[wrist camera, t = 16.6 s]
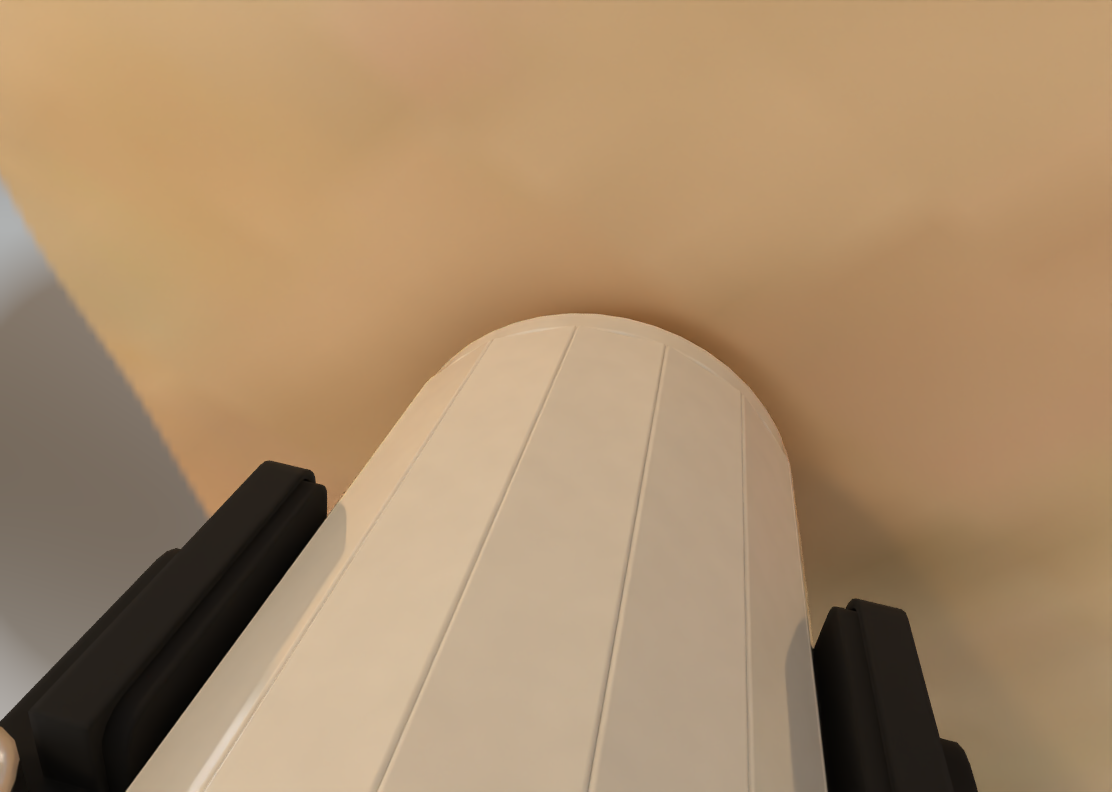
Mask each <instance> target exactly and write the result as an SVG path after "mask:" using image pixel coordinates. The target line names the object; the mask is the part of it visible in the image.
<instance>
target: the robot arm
mask: <svg viewBox="0 0 1112 792" xmlns="http://www.w3.org/2000/svg"><path fill="white" fill-rule="evenodd" d="M326 518H327V490H326V488H325V486H323V485H320V484H316V481H315V476H314V473H313V472H312V471H311V470H308V469H303V468H299V467H295V466H291V465H286V464H282V463H278V462H274V461H265V462H264V463H262V464H261V465H260V466H259V467H258V468H257V469H256V470H255V471H254V472H253V473H252V474H251V475H250V476H249V478H248V479H247V480H246V481H245V482H244V483H243V484H242V485H241V486H240V487H239V488H238V489H237V490H236V491H235V492H234V493H233V495H232V496H231V497H230V498H229V499H228V500H227V501H226V502H225V503H224V504H223V505H222V506H221V507H220V508H219V509H218V510H217V511H216V513H215V514H214V515H213V516H212V517H211V518H210V519H209V520H208V521H207V522H206V523H205V524H204V525H203V526H202V527H201V528H200V529H199V531H198V532H197V533H196V534H195V535H194V536H193V537H192V538H191V539H190V540H189V541H188V542H187V543H186V545H184V547H183V548H182V549H177V548H175V549H172V550H170V551H167V552H166V553H164V554H163V555H162V556H161V557H159V558H158V559H157V560H156V561H155V562H154V563H153V564H152V565H151V566H150V567H149V568H148V569H147V570H146V571H145V572H144V573H143V574H142V575H141V576H140V578H138V580H137V581H136V582H135V583H134V584H133V585H132V586H131V587H130V588H129V589H128V590H127V591H126V592H125V593H124V594H123V595H122V596H121V597H120V598H119V599H118V600H117V601H116V602H115V603H114V604H113V605H112V606H111V607H110V609H109V610H108V611H107V612H106V613H105V614H104V615H103V616H102V617H101V618H100V619H99V620H98V621H97V622H96V623H95V624H94V625H93V626H92V627H91V628H90V629H89V630H88V631H87V632H86V633H85V634H84V635H83V637H81V638H80V640H79V641H78V642H77V643H76V644H75V645H74V646H73V647H72V648H71V649H70V650H69V651H68V652H67V653H66V654H65V655H64V656H63V657H62V658H61V659H60V660H59V661H58V662H57V663H56V664H55V665H54V666H53V667H52V669H51V670H50V671H49V672H48V673H47V674H46V675H45V676H44V677H43V678H42V679H41V680H40V681H39V682H38V683H37V684H36V685H35V686H34V687H33V688H32V689H31V690H30V691H29V692H28V693H27V694H26V695H25V696H24V697H23V698H22V700H21V701H20V702H19V703H18V704H17V705H16V706H15V707H14V708H13V709H12V710H11V711H10V712H9V713H8V714H7V715H6V716H5V717H4V718H3V719H2V720H1V721H0V792H125V791H126V790H127V789H128V787H129V786H130V785H131V783H132V782H133V781H134V779H135V778H136V776H137V775H138V774H139V772H140V771H141V770H142V768H143V767H144V766H145V764H146V763H147V761H148V760H149V759H150V757H151V756H152V755H153V753H154V752H155V751H156V749H157V748H158V746H159V745H160V744H161V742H162V741H163V740H164V738H165V737H166V736H167V734H168V733H169V732H170V730H171V729H172V727H173V726H174V725H175V723H176V722H177V721H178V719H179V718H180V717H181V715H182V714H183V712H184V711H185V710H186V708H187V707H188V706H189V704H190V703H191V702H192V700H193V699H194V697H195V696H196V695H197V693H198V692H199V691H200V689H201V688H202V687H203V685H204V684H205V682H206V681H207V680H208V678H209V677H210V676H211V674H212V673H213V672H214V670H215V669H216V668H217V666H218V665H219V663H220V662H221V661H222V659H223V658H224V657H225V655H226V654H227V653H228V651H229V650H230V648H231V647H232V646H233V644H234V643H235V642H236V640H237V639H238V638H239V636H240V635H241V633H242V632H243V631H244V629H245V628H246V627H247V625H248V624H249V623H250V621H251V620H252V618H253V617H254V616H255V614H256V613H257V612H258V610H259V609H260V608H261V606H262V605H263V604H264V602H265V601H266V599H267V598H268V597H269V595H270V594H271V593H272V591H273V590H274V589H275V587H276V586H277V584H278V583H279V582H280V580H281V579H282V578H283V576H284V575H285V574H286V572H287V571H288V569H289V568H290V567H291V565H292V564H293V563H294V561H295V560H296V559H297V557H298V556H299V554H300V553H301V552H302V550H303V549H304V548H305V546H306V545H307V544H308V542H309V541H310V540H311V538H312V537H313V535H314V534H315V533H316V531H317V530H318V529H319V527H320V526H321V525H322V523H323V522H324V520H325V519H326ZM814 654H815V662H816V670H817V679H818V687H819V696H820V704H821V713H822V721H823V729H824V738H825V746H826V755H827V763H828V772H829V780H830V788H831V792H978V790H977V787H976V783H975V780H974V776H973V773H972V770H971V766H970V763H969V761H968V758H967V756H966V754H965V751H964V750H963V749H962V747H961V746H960V745H959V744H958V743H957V742H953V741H949V740H945V739H941V738H940V737H939V733H938V729H937V726H936V722H935V718H934V714H933V711H932V707H931V703H930V699H929V696H928V692H927V688H926V684H925V681H924V677H923V673H922V669H921V666H920V662H919V658H918V654H917V651H916V647H915V643H914V639H913V636H912V632H911V628H910V624H909V621H908V618H907V615H906V613H905V612H904V611H903V610H902V609H898V608H894V607H890V606H885V605H881V604H877V603H873V602H868V601H864V600H860V599H852V600H851V601H850V602H849V603H848V605H847V607H846V609H844V608H840V607H832V608H831V609H830V611H829V613H828V615H827V618H826V620H825V623H824V625H823V627H822V630H821V632H820V635H819V637H818V640H817V642H816V645H815V647H814Z"/></svg>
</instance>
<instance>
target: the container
mask: <svg viewBox="0 0 1112 792" xmlns="http://www.w3.org/2000/svg"><path fill="white" fill-rule="evenodd" d="M125 792H831V788H830V780H829V772H828V763H827V755H826V746H825V738H824V729H823V721H822V713H821V704H820V696H819V687H818V679H817V670H816V662H815V654H814V645H813V637H812V628H811V620H810V611H809V603H808V595H807V586H806V578H805V569H804V561H803V552H802V544H801V536H800V528H799V521H798V514H797V508H796V501H795V493H794V485H793V476H792V471H791V467H790V463H789V458H788V454H787V451H786V448H785V446H784V443H783V441H782V438H781V436H780V433H779V431H778V429H777V427H776V425H775V424H774V422H773V420H772V418H771V417H770V415H769V413H768V411H767V410H766V408H765V407H764V405H763V404H762V403H761V402H760V400H759V399H758V398H757V396H756V395H755V394H754V393H753V391H752V390H751V389H750V388H749V386H748V385H747V384H745V383H744V382H743V381H742V380H741V379H740V378H739V377H738V376H737V375H736V374H735V373H734V372H733V371H732V370H731V369H730V368H729V367H728V366H726V365H725V364H723V363H722V362H721V361H719V360H718V359H717V358H715V357H714V356H713V355H711V354H710V353H709V352H707V351H706V350H704V349H702V348H700V347H699V346H697V345H695V344H693V343H692V342H690V341H688V340H686V339H684V338H683V337H681V336H678V335H676V334H673V333H671V332H668V331H666V330H664V329H661V328H659V327H656V326H653V325H650V324H646V323H642V322H639V321H635V320H631V319H628V318H622V317H615V316H608V315H602V314H578V313H568V314H558V315H548V316H541V317H536V318H532V319H528V320H524V321H519V322H515V323H513V324H510V325H508V326H505V327H502V328H500V329H497V330H495V331H492V332H490V333H488V334H486V335H485V336H483V337H481V338H479V339H477V340H476V341H474V342H472V343H470V344H469V345H467V346H466V347H465V348H464V349H462V350H461V351H460V352H458V353H457V354H456V355H454V356H453V357H452V358H451V359H450V360H449V361H448V362H447V363H446V364H445V365H444V366H443V367H442V368H441V369H440V370H439V371H438V372H437V373H436V374H435V375H434V376H433V377H432V378H430V379H429V380H428V382H426V383H425V384H424V386H423V387H422V388H421V390H420V391H419V392H418V394H417V395H416V397H415V398H414V399H413V401H412V402H411V403H410V405H409V406H408V407H407V409H406V410H405V411H404V413H403V414H402V416H401V417H400V418H399V420H398V421H397V422H396V424H395V425H394V426H393V428H392V429H391V431H390V432H389V433H388V435H387V436H386V437H385V439H384V440H383V441H382V443H381V444H380V446H379V447H378V448H377V450H376V451H375V452H374V454H373V455H372V456H371V458H370V459H369V461H368V462H367V463H366V465H365V466H364V467H363V469H362V470H361V471H360V473H359V474H358V476H357V477H356V478H355V480H354V481H353V482H352V484H351V485H350V486H349V488H348V489H347V490H346V492H345V493H344V495H343V496H342V497H341V499H340V500H339V501H338V503H337V504H336V505H335V507H334V508H333V510H332V511H331V512H330V514H329V515H328V516H327V518H326V519H325V520H324V522H323V523H322V525H321V526H320V527H319V529H318V530H317V531H316V533H315V534H314V535H313V537H312V538H311V540H310V541H309V542H308V544H307V545H306V546H305V548H304V549H303V550H302V552H301V553H300V554H299V556H298V557H297V559H296V560H295V561H294V563H293V564H292V565H291V567H290V568H289V569H288V571H287V572H286V574H285V575H284V576H283V578H282V579H281V580H280V582H279V583H278V584H277V586H276V587H275V589H274V590H273V591H272V593H271V594H270V595H269V597H268V598H267V599H266V601H265V602H264V604H263V605H262V606H261V608H260V609H259V610H258V612H257V613H256V614H255V616H254V617H253V618H252V620H251V621H250V623H249V624H248V625H247V627H246V628H245V629H244V631H243V632H242V633H241V635H240V636H239V638H238V639H237V640H236V642H235V643H234V644H233V646H232V647H231V648H230V650H229V651H228V653H227V654H226V655H225V657H224V658H223V659H222V661H221V662H220V663H219V665H218V666H217V668H216V669H215V670H214V672H213V673H212V674H211V676H210V677H209V678H208V680H207V681H206V682H205V684H204V685H203V687H202V688H201V689H200V691H199V692H198V693H197V695H196V696H195V697H194V699H193V700H192V702H191V703H190V704H189V706H188V707H187V708H186V710H185V711H184V712H183V714H182V715H181V717H180V718H179V719H178V721H177V722H176V723H175V725H174V726H173V727H172V729H171V730H170V732H169V733H168V734H167V736H166V737H165V738H164V740H163V741H162V742H161V744H160V745H159V746H158V748H157V749H156V751H155V752H154V753H153V755H152V756H151V757H150V759H149V760H148V761H147V763H146V764H145V766H144V767H143V768H142V770H141V771H140V772H139V774H138V775H137V776H136V778H135V779H134V781H133V782H132V783H131V785H130V786H129V787H128V789H127V790H126V791H125Z"/></svg>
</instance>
